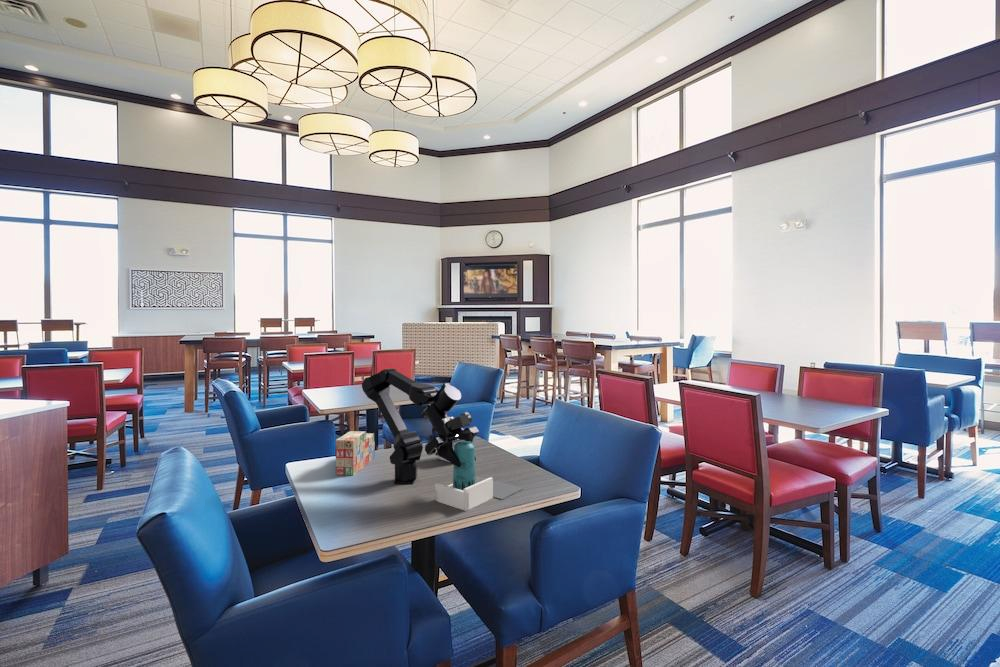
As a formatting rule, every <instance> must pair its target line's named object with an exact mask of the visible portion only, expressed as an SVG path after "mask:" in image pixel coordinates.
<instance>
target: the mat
mask: <svg viewBox="0 0 1000 667" xmlns="http://www.w3.org/2000/svg"><path fill="white" fill-rule="evenodd" d="M485 479H488V478H487V477H482V476H475V482H474V484H476V483H478V482H481V481H483V480H485ZM523 490H524V488H523V487H519V486H517V485H513V484H509V483H505V482H501V481H497V480H494V479H493V499H498V500H501V501H503V500H505V499H507V498H510V497H511V496H512V495H515V494H516V493H518V492H519V493H520V491H523Z"/></svg>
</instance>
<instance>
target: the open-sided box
mask: <svg viewBox="0 0 1000 667" xmlns="http://www.w3.org/2000/svg"><path fill="white" fill-rule="evenodd" d="M493 480H494V477H492V476H491V477H488V478H487V479H485V480H483V481H481V482H478V483H476V484H474V485H471V486H469V487H467V488H464V491H463V490H460V489H456V488H453V483H451V484H449V485H448V484H447V485H446V484H443V483H439V482H436V483H434V487H435V488H434V501H436V502H438V503H440V504H444V505H447V506H450V507H453V508H456V509H459V510H462V511H464V512H468V511H469V510H471V509H474V508H475V507H477V506H479V505H483V503H486V502H487V501H490V500H492V499H494V497H493Z"/></svg>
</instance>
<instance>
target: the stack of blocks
mask: <svg viewBox="0 0 1000 667" xmlns="http://www.w3.org/2000/svg"><path fill="white" fill-rule="evenodd" d="M375 446H376V444H375V433H374V432H373V433H370V432H369V433H368V432H367V431H366V430H364V431H362V430H361V431H360V430H359V431H358V430H356V431H355V430H351V431H347V432H346V433H345V434H343V435H342V436H340V437H338V438H337V439H335V475H336V476H352V477H353V476H355V475H356V474H357V473H358V472H360V470H362V469H363V468H364V467H365V466H366V465H367V464H369V462H371V461H372V460H373V459H374V458H375V451H376V449H375Z"/></svg>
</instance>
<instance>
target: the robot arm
mask: <svg viewBox="0 0 1000 667" xmlns="http://www.w3.org/2000/svg"><path fill="white" fill-rule="evenodd" d="M390 386H392V387H394V388H396V389H398V390H400V392H402V393H405V395H407V396H408V398H409V400H410V401H411V402H412V404H414V405H415V406H417V407H423V406H426V408H422V410H421V413H420V414H421V415H420V418H421V419H424V418H425V419H426V418H427V419H428V421H429V423H430V424H431V427H432V428H433V429H432V430H431V432H432V433H433V434H437V435H434V436H432V437H431V439H430V440H429V441H428V442H427V443H426V444H425V445H424V446H423V444H422V439H421V438H420V436H419V434H418V432H417V431H415V430H414V431H410V430H408V429H409V428H407V426H406V424H405V421H403V420H404V419H402V416H401V415H400V413H399V410H398V408H397V407H396V406H395V403H394V402H393V400H392V398H391V396H390V390H391V387H390ZM361 388H362V391H363V392H364V394H365V396H366V397H367V398H368V399H370V400H371V401H372V402H374V403H376V405H377V408H378V409H379V412H380V413H381V415H382V417H383V419H384V421H385V423H386V425H387V427H388V429H389V431H390V433H391V435H392V436H393V450H394V451H393V452H392V453H391V455H390V456H389V461H390V464H392V465H394V480H393V484H407V485H410V484H411V485H412V484H414V483H415V482H416V480H417V479H418V465H417V462H418V461H420V460H421V456H422V454H423V448H424V451H425V452H426V454H427V456H431V455H435V456H437V457H438V456H440V457H442V458H444V459H446V460H448V461H449V462H448V463H450V462H451V464H453V466H454V465H456V466H457V467H460V466H461V463H460V461H459V459H458V457H457V455H456V453H455V452H454V450H453V446H452V443H453V442H457V441H459V442H460V441H469V442H472V443H473V442H474V438H475V437H476V436H478V435H479V433H480V430H479V429H478V427H477V426H475V425H472V426H470V425H471V423H472V421H473V417H472V416H471V414H470V413H469V412H468V411H465V412H463V413H461V414H460V415H459V416H457V417H454V416H450V415H449V414H448V412H450V411H452V410H453V408H454V407H455V405H456V404H458V402H459V401H460V400H461V398H462V393H461V391H460V390H459V389H458V388H456V387H455V386H453V385H451V384H450V383H449V382H445V383H443V384H442V385H441V387H440V388H439V389H437V388H436V387H435V386H434V385H431V384H427V383H419V382H417V381H415V380H414V379H412V378H410V377H409V376H406V375H404V374H403V373H401V372H399V371H398V370H397V369H396V368H383V369H382V370H380V371H379V372H377V373H375V374H372V375H371V376H369V377H365V378H364V379H363V381H362V383H361ZM467 426H468V427H467ZM464 427H465V428H464ZM463 429H464V430H468V431H471V433H472V439H469V440H460V439H458V432H459V431H462V430H463ZM455 438H456V439H455ZM476 458H477V457H476V456H475V461H477V459H476Z"/></svg>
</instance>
